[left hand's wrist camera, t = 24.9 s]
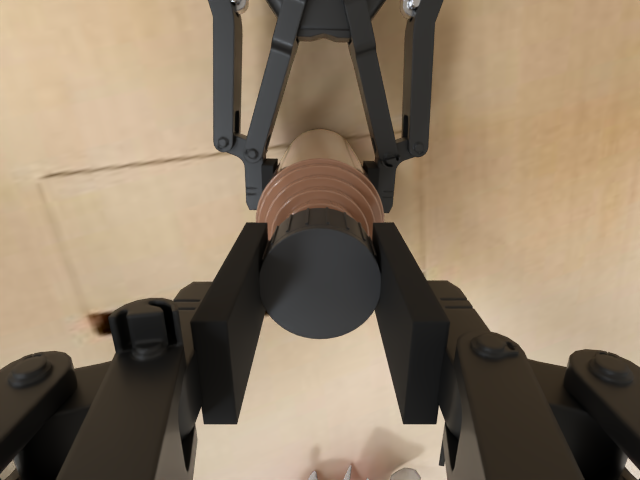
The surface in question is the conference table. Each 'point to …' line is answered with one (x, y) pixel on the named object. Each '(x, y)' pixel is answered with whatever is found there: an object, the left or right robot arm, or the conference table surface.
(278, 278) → the cap
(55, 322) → the conference table surface
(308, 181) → the bottle
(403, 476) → the fish
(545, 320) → the conference table surface
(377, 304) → the left robot arm
